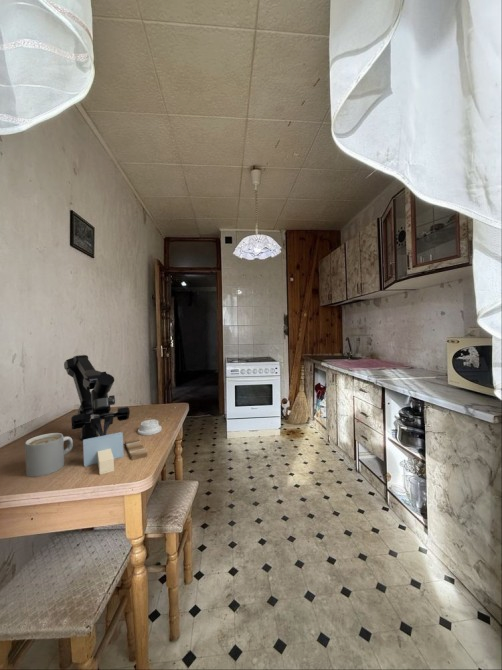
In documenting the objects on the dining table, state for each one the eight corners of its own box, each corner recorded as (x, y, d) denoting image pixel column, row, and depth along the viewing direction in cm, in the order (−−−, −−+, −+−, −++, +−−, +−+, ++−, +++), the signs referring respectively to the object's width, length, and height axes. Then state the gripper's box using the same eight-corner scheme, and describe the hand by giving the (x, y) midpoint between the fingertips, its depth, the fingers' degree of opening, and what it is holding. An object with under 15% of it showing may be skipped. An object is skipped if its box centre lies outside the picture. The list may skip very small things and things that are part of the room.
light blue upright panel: (83, 462, 92) (83, 439, 92) (122, 453, 98) (121, 431, 98) (84, 478, 82) (83, 452, 82) (127, 467, 88) (126, 443, 88)
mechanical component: (132, 435, 117) (153, 436, 115) (132, 425, 116) (153, 426, 114) (146, 427, 126) (165, 428, 124) (146, 417, 126) (165, 418, 124)
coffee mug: (31, 480, 82) (30, 447, 81) (22, 470, 88) (21, 440, 87) (80, 462, 92) (79, 433, 92) (69, 455, 98) (68, 427, 98)
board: (125, 444, 107) (124, 441, 107) (138, 441, 109) (138, 438, 109) (131, 460, 93) (131, 456, 93) (147, 456, 96) (147, 452, 96)
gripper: (70, 392, 95) (71, 433, 85) (128, 385, 105) (134, 421, 96) (71, 409, 101) (72, 449, 92) (125, 401, 111) (131, 436, 102)
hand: (103, 438), depth 95 cm, fingers closed, pressing on light blue upright panel
